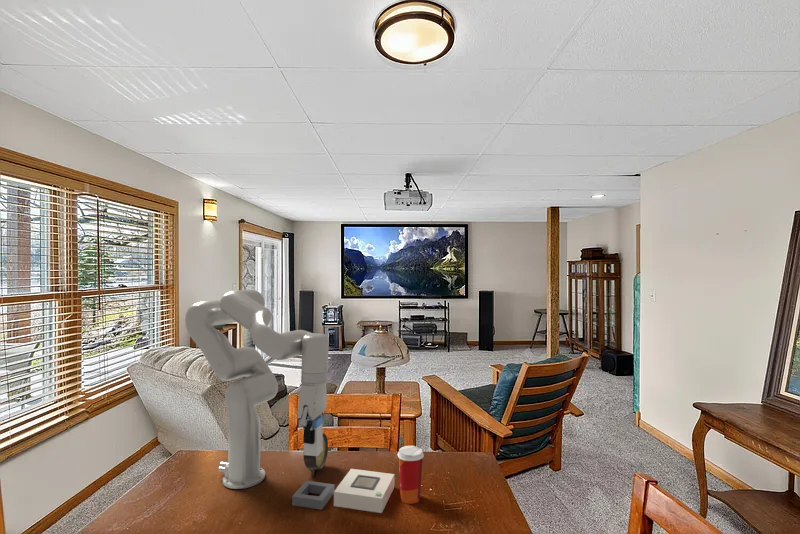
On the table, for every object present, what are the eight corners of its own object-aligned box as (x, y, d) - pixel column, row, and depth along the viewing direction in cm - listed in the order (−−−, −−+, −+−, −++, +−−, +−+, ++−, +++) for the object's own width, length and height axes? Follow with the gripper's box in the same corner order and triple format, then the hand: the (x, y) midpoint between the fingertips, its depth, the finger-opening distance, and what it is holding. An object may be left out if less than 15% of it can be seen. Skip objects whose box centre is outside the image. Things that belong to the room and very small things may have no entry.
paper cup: (410, 488, 128) (410, 442, 128) (429, 498, 123) (429, 450, 123) (391, 498, 123) (391, 450, 123) (410, 509, 117) (410, 458, 117)
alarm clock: (316, 479, 133) (316, 427, 133) (300, 477, 135) (300, 426, 135) (328, 463, 144) (329, 416, 144) (313, 462, 145) (314, 414, 145)
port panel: (333, 505, 119) (333, 489, 119) (350, 481, 132) (351, 467, 132) (381, 513, 115) (381, 496, 115) (394, 487, 129) (394, 472, 129)
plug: (303, 455, 121) (303, 420, 121) (310, 448, 125) (309, 415, 125) (317, 456, 120) (316, 421, 120) (323, 450, 124) (322, 416, 124)
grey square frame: (292, 505, 119) (292, 496, 119) (306, 488, 128) (306, 480, 128) (321, 509, 117) (321, 500, 117) (334, 492, 125) (334, 484, 125)
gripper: (314, 368, 131) (313, 427, 131) (288, 383, 115) (286, 450, 115) (337, 371, 129) (335, 430, 130) (314, 386, 113) (311, 454, 113)
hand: (312, 439), depth 122 cm, fingers closed on plug, 4 cm apart
